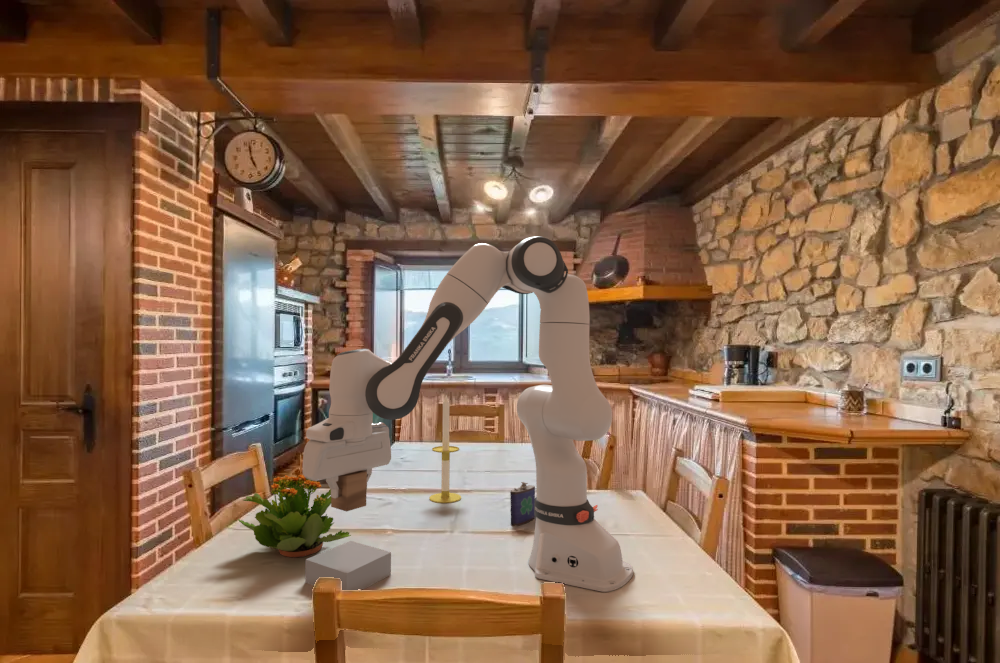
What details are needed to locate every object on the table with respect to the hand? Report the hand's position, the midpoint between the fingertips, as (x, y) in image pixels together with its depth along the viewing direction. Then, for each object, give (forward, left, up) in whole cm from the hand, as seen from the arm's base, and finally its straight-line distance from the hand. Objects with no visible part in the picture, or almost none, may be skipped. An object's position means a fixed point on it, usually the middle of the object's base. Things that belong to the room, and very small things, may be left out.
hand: (349, 493), depth 111 cm
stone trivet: (-1, 0, -18) cm, 18 cm away
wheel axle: (+21, -53, -17) cm, 60 cm away
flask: (-10, -50, -17) cm, 54 cm away
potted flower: (+20, -2, -17) cm, 26 cm away
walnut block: (0, 0, -3) cm, 3 cm away
